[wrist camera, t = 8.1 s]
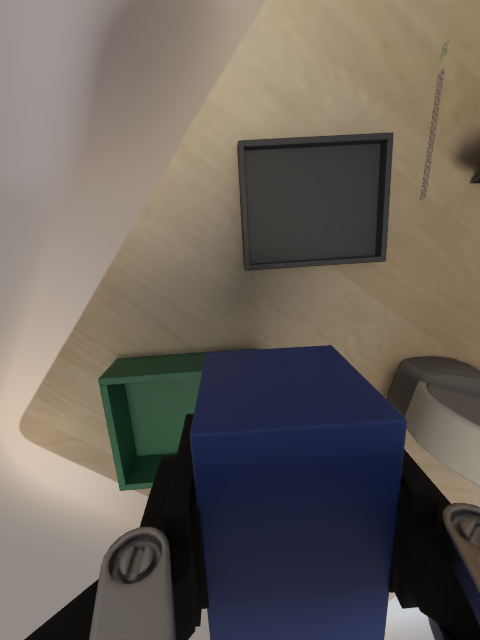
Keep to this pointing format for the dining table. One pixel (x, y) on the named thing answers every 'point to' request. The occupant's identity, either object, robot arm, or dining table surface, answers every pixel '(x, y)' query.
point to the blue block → (295, 495)
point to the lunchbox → (148, 411)
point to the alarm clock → (441, 410)
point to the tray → (314, 200)
